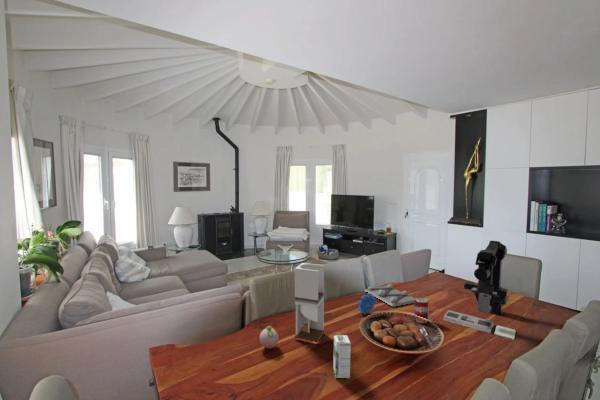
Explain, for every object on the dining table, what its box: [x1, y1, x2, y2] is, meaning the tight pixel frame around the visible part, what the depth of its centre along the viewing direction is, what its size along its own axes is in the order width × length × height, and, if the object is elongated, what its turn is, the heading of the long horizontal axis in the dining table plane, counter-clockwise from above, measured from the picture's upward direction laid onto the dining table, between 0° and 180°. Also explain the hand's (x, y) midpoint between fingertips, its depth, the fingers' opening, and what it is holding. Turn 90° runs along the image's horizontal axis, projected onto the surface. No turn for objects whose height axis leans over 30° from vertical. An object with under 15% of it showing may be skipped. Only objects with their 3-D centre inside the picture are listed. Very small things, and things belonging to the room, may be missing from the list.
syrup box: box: [332, 334, 352, 379], centre depth 113 cm, size 6×6×14 cm
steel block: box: [477, 293, 491, 314], centre depth 151 cm, size 5×5×8 cm
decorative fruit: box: [259, 325, 280, 350], centre depth 131 cm, size 9×8×10 cm
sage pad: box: [493, 325, 516, 341], centre depth 146 cm, size 11×8×1 cm
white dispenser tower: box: [294, 262, 325, 342], centre depth 140 cm, size 11×11×35 cm
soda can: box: [413, 297, 430, 320], centre depth 157 cm, size 7×7×12 cm
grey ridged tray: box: [363, 283, 417, 308], centre depth 192 cm, size 30×22×7 cm
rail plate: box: [442, 309, 494, 334], centre depth 156 cm, size 11×22×2 cm, turn 50°
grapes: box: [357, 293, 377, 314], centre depth 168 cm, size 12×7×12 cm, turn 109°
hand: (484, 304), depth 151 cm, fingers closed on steel block, 5 cm apart
